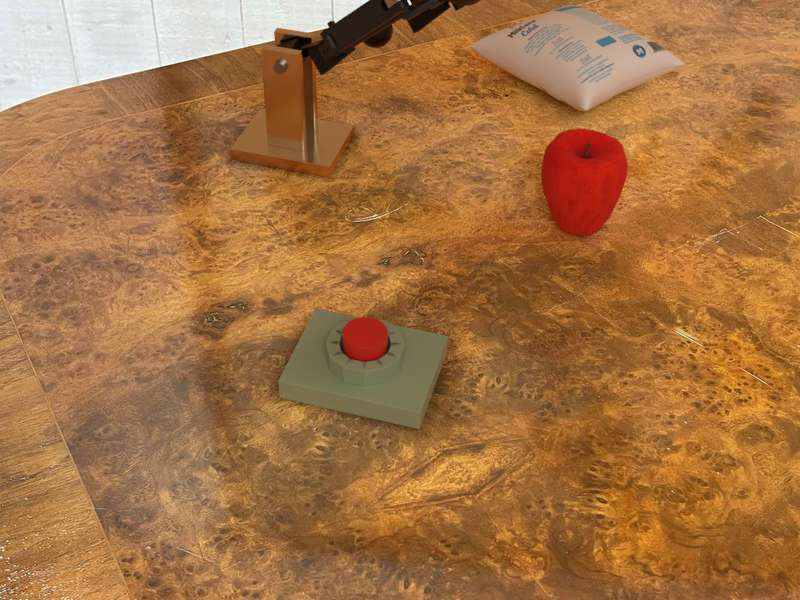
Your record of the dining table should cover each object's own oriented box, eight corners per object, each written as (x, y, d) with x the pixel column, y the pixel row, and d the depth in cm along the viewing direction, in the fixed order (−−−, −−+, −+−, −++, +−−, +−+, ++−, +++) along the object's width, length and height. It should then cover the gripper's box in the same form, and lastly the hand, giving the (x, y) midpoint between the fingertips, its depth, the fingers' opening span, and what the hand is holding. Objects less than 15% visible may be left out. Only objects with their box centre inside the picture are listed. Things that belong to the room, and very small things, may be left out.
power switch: (354, 135, 127) (353, 30, 118) (330, 177, 121) (326, 69, 112) (260, 119, 130) (251, 14, 120) (231, 159, 123) (220, 51, 114)
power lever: (402, 33, 114) (388, 2, 112) (392, 49, 111) (379, 18, 109) (291, 65, 120) (276, 36, 118) (279, 80, 117) (264, 52, 116)
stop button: (336, 356, 94) (336, 342, 93) (350, 327, 97) (350, 313, 96) (380, 366, 93) (380, 352, 92) (392, 336, 96) (393, 322, 95)
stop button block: (279, 397, 95) (276, 366, 93) (316, 324, 103) (314, 293, 100) (419, 429, 93) (421, 398, 90) (447, 352, 100) (449, 321, 97)
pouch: (693, 34, 132) (572, -27, 142) (590, 88, 122) (469, 19, 133) (680, 89, 137) (565, 26, 148) (580, 145, 128) (465, 74, 138)
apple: (518, 214, 116) (528, 130, 109) (583, 192, 120) (596, 109, 112) (566, 260, 111) (580, 174, 103) (632, 236, 114) (650, 151, 107)
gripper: (397, 32, 90) (292, 114, 108) (583, -51, 103) (461, 35, 121) (355, -49, 90) (256, 48, 107) (547, -121, 103) (430, -25, 121)
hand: (365, 41), depth 114 cm, fingers open, 13 cm apart
